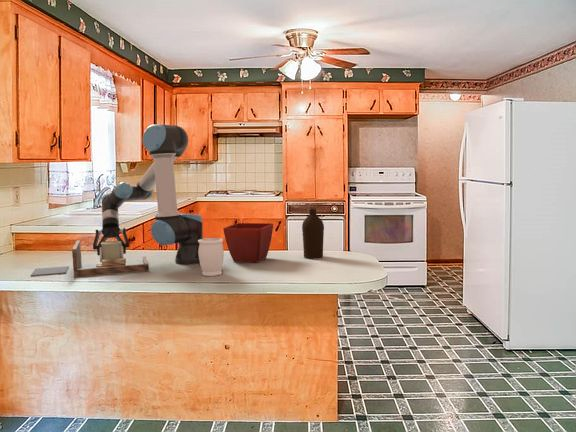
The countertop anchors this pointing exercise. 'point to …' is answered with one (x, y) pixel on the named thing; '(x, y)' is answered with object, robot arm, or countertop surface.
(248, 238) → the plant pot
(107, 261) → the offcut stack
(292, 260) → the countertop surface
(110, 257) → the can
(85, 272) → the rack
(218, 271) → the jar
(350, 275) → the countertop surface
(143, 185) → the robot arm
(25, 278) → the countertop surface
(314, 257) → the olive oil
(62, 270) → the mat
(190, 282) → the countertop surface
